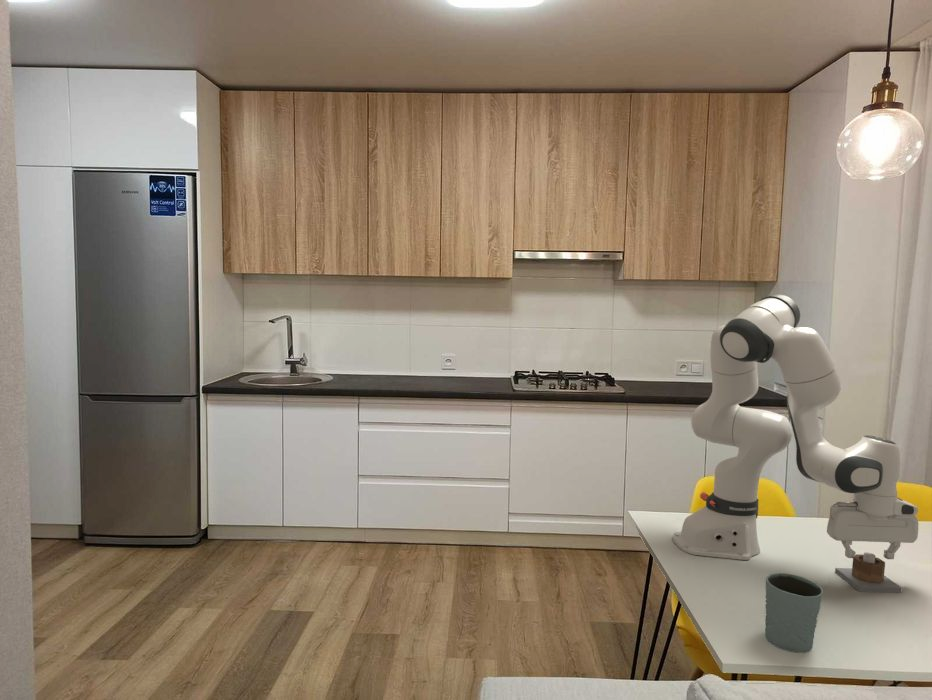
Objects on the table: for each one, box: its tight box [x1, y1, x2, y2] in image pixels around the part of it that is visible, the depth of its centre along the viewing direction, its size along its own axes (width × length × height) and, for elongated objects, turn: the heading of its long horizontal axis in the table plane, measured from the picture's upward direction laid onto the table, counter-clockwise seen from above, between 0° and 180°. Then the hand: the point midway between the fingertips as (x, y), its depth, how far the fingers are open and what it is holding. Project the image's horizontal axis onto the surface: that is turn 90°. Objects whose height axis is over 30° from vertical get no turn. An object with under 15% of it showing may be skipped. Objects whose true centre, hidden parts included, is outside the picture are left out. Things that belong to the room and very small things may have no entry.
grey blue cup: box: [764, 572, 824, 654], centre depth 127 cm, size 10×10×12 cm
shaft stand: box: [834, 552, 903, 593], centre depth 155 cm, size 10×10×7 cm
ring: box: [851, 553, 886, 583], centre depth 155 cm, size 6×6×4 cm
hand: (869, 557), depth 155 cm, fingers open, 8 cm apart
